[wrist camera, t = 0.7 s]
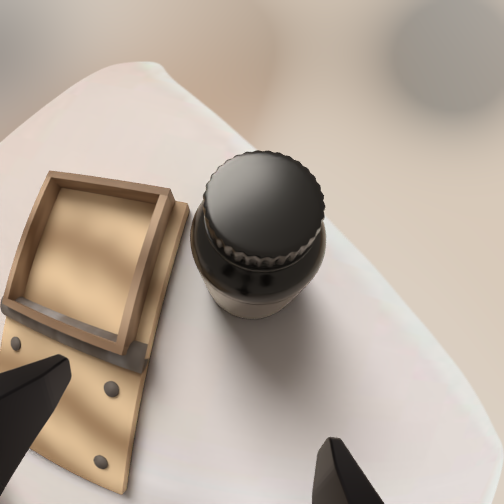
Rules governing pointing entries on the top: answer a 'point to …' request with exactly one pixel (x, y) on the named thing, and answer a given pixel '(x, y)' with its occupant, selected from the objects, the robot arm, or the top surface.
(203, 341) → the top surface
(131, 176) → the top surface
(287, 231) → the supplement bottle
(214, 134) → the top surface
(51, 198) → the hinge jig
